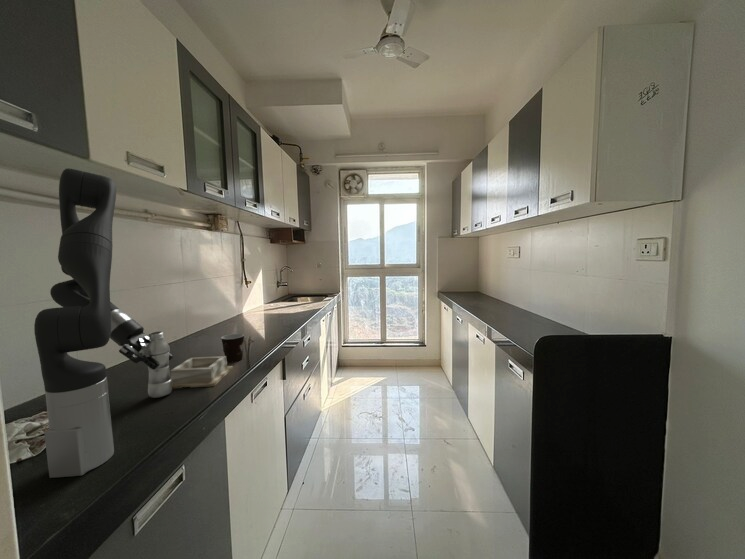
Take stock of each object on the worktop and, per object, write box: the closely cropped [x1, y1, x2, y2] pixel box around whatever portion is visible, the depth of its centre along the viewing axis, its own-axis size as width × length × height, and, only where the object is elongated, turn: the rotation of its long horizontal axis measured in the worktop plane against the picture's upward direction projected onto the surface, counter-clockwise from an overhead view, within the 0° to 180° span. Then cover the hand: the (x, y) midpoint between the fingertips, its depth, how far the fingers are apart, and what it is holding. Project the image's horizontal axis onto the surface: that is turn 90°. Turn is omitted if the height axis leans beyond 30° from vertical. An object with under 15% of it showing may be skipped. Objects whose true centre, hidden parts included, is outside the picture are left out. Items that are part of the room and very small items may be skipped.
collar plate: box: [169, 355, 234, 389], centre depth 108 cm, size 16×16×6 cm
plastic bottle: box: [147, 331, 174, 399], centre depth 94 cm, size 6×7×20 cm
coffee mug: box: [220, 333, 245, 363], centre depth 125 cm, size 12×9×10 cm
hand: (164, 363), depth 94 cm, fingers closed on plastic bottle, 6 cm apart
